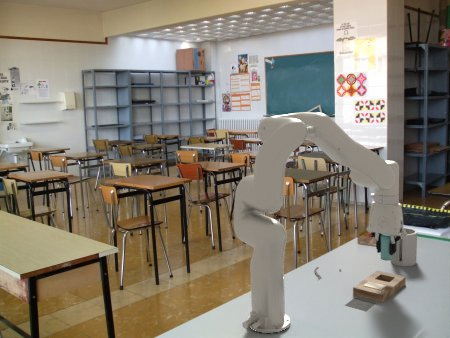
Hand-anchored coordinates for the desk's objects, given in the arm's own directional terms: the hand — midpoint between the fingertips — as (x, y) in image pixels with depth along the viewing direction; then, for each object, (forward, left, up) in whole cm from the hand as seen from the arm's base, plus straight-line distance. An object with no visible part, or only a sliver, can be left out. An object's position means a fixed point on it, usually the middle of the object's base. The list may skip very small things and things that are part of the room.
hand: (386, 252), depth 166 cm
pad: (-18, 0, -12) cm, 22 cm away
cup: (+26, +4, -12) cm, 29 cm away
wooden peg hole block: (-4, 0, -12) cm, 13 cm away
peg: (0, 0, -2) cm, 2 cm away
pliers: (-4, +19, -13) cm, 23 cm away
